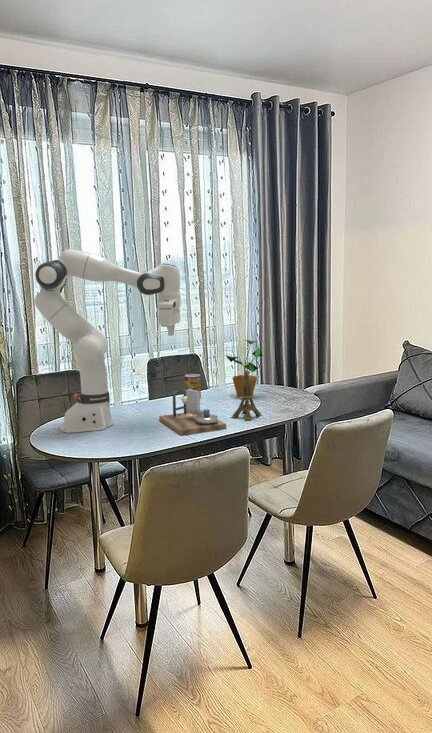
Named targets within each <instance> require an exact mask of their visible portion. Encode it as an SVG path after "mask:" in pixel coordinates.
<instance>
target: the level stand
mask: <svg viewBox="0 0 432 733" xmlns="http://www.w3.org/2000/svg"><path fill="white" fill-rule="evenodd" d="M181 393H182V394H183V397H184V396H186V389H185V388H184V389H179V390H176V391H172V414H165V415H159V416H158V417H159V418H158V419H159V421H160V422H161V423H162V424H164V425H165V426H166V427H168V428H170V429H171V430H172V431H174V432H175V433H177V434H179V436H188V435H194V434H202V433H207V432H214V431H219V430H220V431H221V430H227V424H226V423H225V422H224V421H221V420H220V419H218V422H217V423H215V424H210V425H202V424H198V423H196V416H198V415H195V414H191V413H188V412H187V404H184V403H183V406H179V407H177V403H176V394H181ZM180 410H183V412H180V413H177V411H180Z"/></svg>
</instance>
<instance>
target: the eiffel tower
mask: <svg viewBox="0 0 432 733" xmlns="http://www.w3.org/2000/svg"><path fill="white" fill-rule="evenodd" d="M243 371H244V370H243ZM244 374H245V380H244V389H243V395H241V397H242V398H241V401H240V403H239V404H238V408H237V409H236V410H235V412H234V413H233V414H232V416H230V419H233V418H234V419H233V420H236V418H237V419H238V417H239V418H240V415H242V414H246V415H245V419H244V420H245V421H244V422H247V421H251V420H253V421H254V419H253V416H252V414H251V413H250V412H251V411H252V412H253V413H254V414H255V416H257V417H260V416H263V415H262V413H261V412H260V411H259V410H258V408H257V407H256V404H255V403H254V400H253V397H254V396H253V395H254V394H253V395H251V389H250V381H249V375H250V374H251V371H250V370H248V369H247V368H246V367H245V371H244V372H243V375H244ZM257 417H256V418H257ZM251 422H252V421H251Z"/></svg>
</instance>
